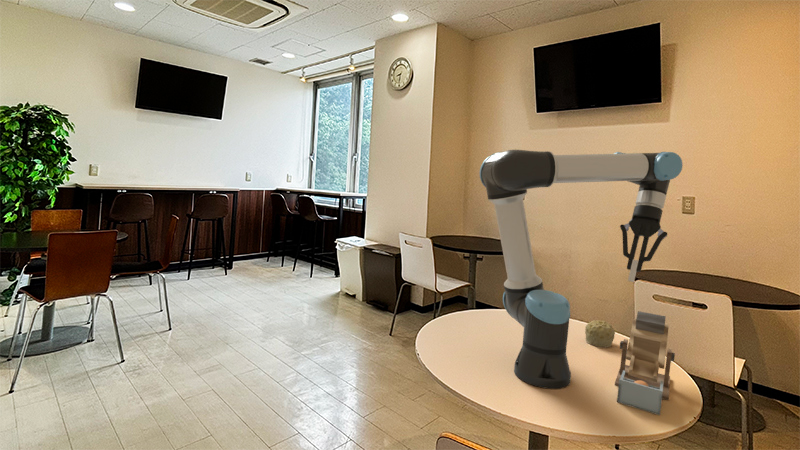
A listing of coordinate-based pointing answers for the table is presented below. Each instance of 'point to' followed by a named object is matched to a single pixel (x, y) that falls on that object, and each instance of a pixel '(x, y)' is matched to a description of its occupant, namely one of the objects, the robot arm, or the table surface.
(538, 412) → the table surface
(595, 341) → the decorative item
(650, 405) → the blue open box
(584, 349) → the table surface
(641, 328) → the lever
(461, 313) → the table surface
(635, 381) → the ball
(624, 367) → the catapult stand
